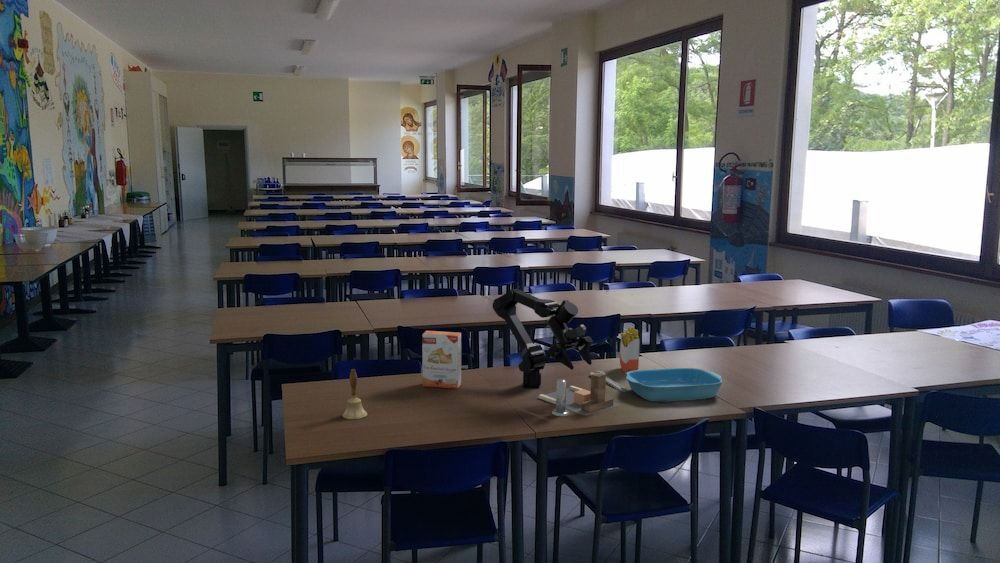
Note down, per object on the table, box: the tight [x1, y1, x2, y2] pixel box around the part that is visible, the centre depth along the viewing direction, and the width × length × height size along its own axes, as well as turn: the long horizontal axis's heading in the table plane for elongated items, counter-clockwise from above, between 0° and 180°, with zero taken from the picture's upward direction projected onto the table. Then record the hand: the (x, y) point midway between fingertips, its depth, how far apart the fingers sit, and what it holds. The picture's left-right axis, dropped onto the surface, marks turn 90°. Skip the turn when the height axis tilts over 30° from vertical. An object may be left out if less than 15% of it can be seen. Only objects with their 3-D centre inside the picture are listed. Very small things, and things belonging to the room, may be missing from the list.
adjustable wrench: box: [589, 370, 628, 393], centre depth 283 cm, size 25×6×2 cm, turn 15°
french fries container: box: [619, 326, 641, 374], centre depth 298 cm, size 5×11×18 cm, turn 10°
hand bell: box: [342, 368, 368, 420], centre depth 244 cm, size 8×8×16 cm
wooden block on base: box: [581, 372, 614, 413], centre depth 252 cm, size 4×12×12 cm, turn 130°
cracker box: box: [421, 330, 462, 390], centre depth 276 cm, size 14×6×21 cm, turn 80°
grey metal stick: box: [551, 378, 570, 417], centre depth 246 cm, size 6×6×12 cm
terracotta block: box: [574, 388, 591, 405], centre depth 258 cm, size 5×5×4 cm
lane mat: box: [535, 385, 622, 417], centre depth 260 cm, size 25×18×2 cm
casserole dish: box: [625, 367, 723, 403], centre depth 270 cm, size 37×22×7 cm, turn 104°
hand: (581, 366), depth 257 cm, fingers open, 9 cm apart
